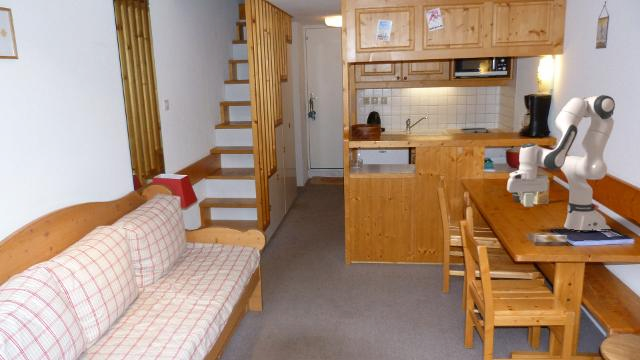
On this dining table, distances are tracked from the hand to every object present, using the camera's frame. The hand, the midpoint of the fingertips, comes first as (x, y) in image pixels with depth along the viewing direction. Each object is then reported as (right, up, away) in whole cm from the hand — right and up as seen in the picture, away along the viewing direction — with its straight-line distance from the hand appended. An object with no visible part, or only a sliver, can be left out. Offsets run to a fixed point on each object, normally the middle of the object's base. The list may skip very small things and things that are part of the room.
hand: (526, 199), depth 276 cm
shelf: (+5, -21, -12) cm, 24 cm away
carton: (0, -3, +1) cm, 3 cm away
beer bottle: (+21, -4, +68) cm, 71 cm away
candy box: (+33, -5, +60) cm, 68 cm away
